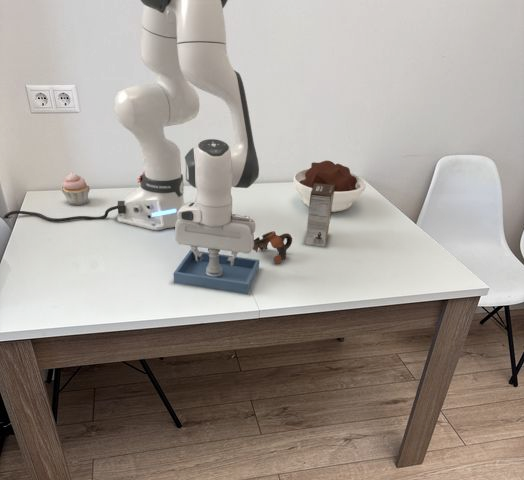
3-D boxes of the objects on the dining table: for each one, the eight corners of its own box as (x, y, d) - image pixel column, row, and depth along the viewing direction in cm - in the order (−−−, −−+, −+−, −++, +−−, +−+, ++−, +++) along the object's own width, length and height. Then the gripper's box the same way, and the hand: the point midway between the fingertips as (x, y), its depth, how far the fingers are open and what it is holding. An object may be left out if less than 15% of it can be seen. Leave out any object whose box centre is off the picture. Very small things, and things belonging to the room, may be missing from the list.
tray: (174, 283, 126) (173, 272, 125) (190, 259, 137) (190, 249, 135) (247, 294, 124) (248, 284, 122) (258, 269, 134) (259, 259, 133)
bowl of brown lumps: (374, 207, 176) (382, 164, 167) (334, 226, 160) (341, 180, 151) (318, 188, 188) (323, 147, 179) (276, 204, 173) (279, 161, 164)
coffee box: (308, 232, 156) (314, 182, 146) (328, 235, 155) (335, 184, 145) (304, 244, 148) (310, 192, 139) (325, 247, 148) (332, 195, 138)
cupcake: (87, 195, 170) (82, 166, 164) (95, 204, 164) (91, 174, 158) (60, 199, 166) (54, 169, 160) (67, 209, 160) (61, 178, 154)
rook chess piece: (215, 268, 133) (214, 241, 128) (226, 274, 130) (226, 247, 125) (202, 273, 130) (201, 245, 125) (213, 279, 128) (212, 252, 123)
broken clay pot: (269, 269, 136) (257, 242, 133) (255, 269, 144) (243, 243, 141) (303, 250, 139) (292, 223, 136) (287, 251, 148) (276, 226, 145)
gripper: (258, 212, 121) (256, 262, 129) (179, 202, 124) (182, 252, 132) (252, 222, 116) (250, 273, 124) (170, 211, 119) (174, 262, 127)
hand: (214, 262), depth 128 cm, fingers open, 7 cm apart
